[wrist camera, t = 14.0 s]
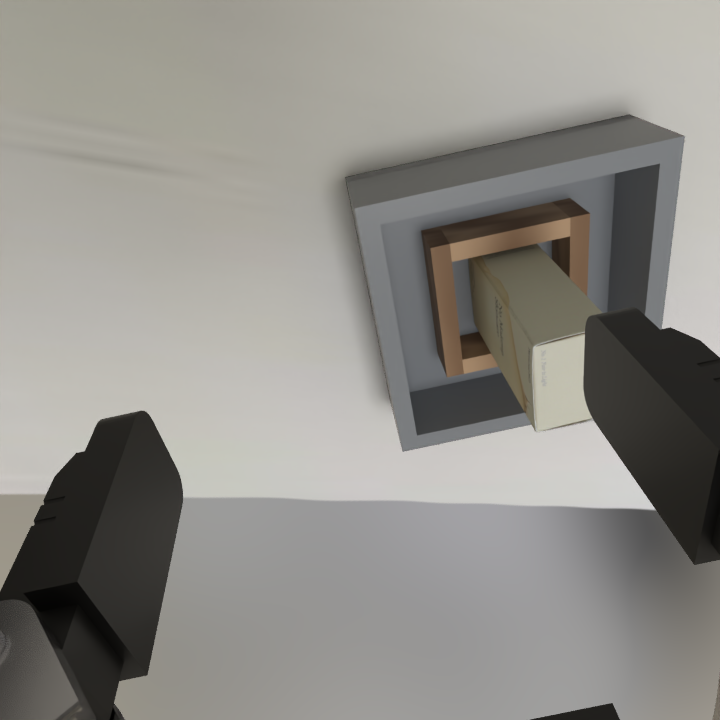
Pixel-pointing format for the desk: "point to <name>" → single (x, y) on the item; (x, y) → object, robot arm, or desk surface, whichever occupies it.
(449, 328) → the square socket
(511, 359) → the skincare box
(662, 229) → the open box
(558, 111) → the desk surface
